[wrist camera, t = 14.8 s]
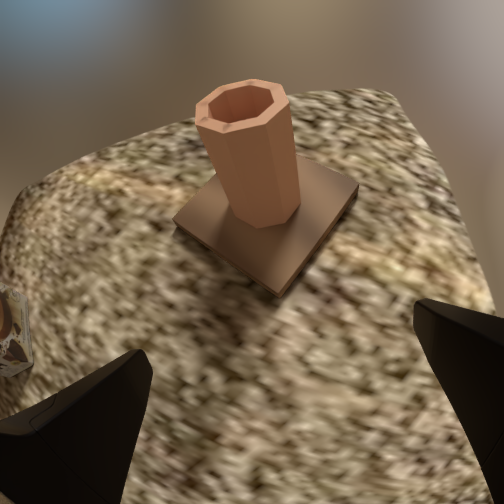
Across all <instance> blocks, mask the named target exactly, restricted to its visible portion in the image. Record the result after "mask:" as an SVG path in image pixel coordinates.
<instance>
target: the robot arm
mask: <svg viewBox="0 0 504 504" xmlns="http://www.w3.org/2000/svg"><path fill="white" fill-rule="evenodd" d="M413 327H414V331H415V333H416V335H417V337H418V339H419V342H420V344H421V346H422V348H423V351H424V353H425V355H426V358H427V360H428V362H429V364H430V366H431V368H432V370H433V372H434V374H435V375H436V377H437V379H438V381H439V383H440V384H441V386H442V388H443V390H444V392H445V394H446V396H447V397H448V399H449V401H450V403H451V405H452V407H453V409H454V411H455V413H456V415H457V417H458V419H459V421H460V423H461V425H462V427H463V429H464V431H465V433H466V435H467V438H468V440H469V442H470V444H471V446H472V448H473V451H474V453H475V455H476V458H477V460H478V462H479V465H480V467H481V470H482V472H483V475H484V477H485V480H486V482H487V485H488V488H489V490H490V493H491V496H492V499H493V501H494V504H504V318H500V317H497V316H493V315H489V314H485V313H481V312H477V311H474V310H470V309H466V308H462V307H458V306H455V305H451V304H447V303H443V302H439V301H435V300H432V299H428V298H424V299H421V300H417V301H416V302H415V303H414V315H413ZM152 376H153V370H152V367H151V365H150V363H149V360H148V358H147V356H146V354H145V352H144V351H143V350H142V349H133V350H130V351H128V352H127V353H125V354H123V355H122V356H120V357H118V358H117V359H115V360H113V361H111V362H110V363H108V364H106V365H105V366H103V367H101V368H99V369H98V370H96V371H94V372H92V373H91V374H89V375H87V376H86V377H84V378H82V379H80V380H79V381H77V382H75V383H73V384H72V385H70V386H68V387H66V388H65V389H63V390H61V391H59V392H58V393H56V394H54V395H52V396H50V397H48V398H47V399H45V400H43V401H41V402H39V403H37V404H35V405H33V406H31V407H29V408H27V409H25V410H23V411H21V412H19V413H16V414H14V415H12V416H10V417H8V418H6V419H3V420H0V504H120V502H121V498H122V494H123V490H124V486H125V482H126V478H127V474H128V471H129V467H130V463H131V460H132V456H133V452H134V449H135V445H136V442H137V438H138V435H139V432H140V428H141V425H142V421H143V418H144V415H145V411H146V407H147V402H148V397H149V392H150V386H151V381H152Z"/></svg>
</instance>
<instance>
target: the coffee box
mask: <svg viewBox="0 0 504 504" xmlns="http://www.w3.org/2000/svg"><path fill="white" fill-rule="evenodd" d="M32 365H33V356H32V349H31V341H30V331H29V319H28V300H27V297H26V296H24V295H22V294H21V293H19V292H17V291H15V290H13V289H11V288H10V287H8V286H6V285H5V284H3V283H1V282H0V375H2V376H5V377H9V378H10V377H12V376H14V375H16V374H18V373H19V372H21V371H23V370H25V369H27V368H29V367H30V366H32Z"/></svg>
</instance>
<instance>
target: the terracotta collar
mask: <svg viewBox="0 0 504 504" xmlns="http://www.w3.org/2000/svg"><path fill="white" fill-rule="evenodd" d="M195 125H196V127H197V130H198V132H199V134H200V137H201V139H202V141H203V143H204V146H205V148H206V150H207V153H208V155H209V157H210V160H211V162H212V164H213V166H214V169H215V171H216V173H217V176H218V178H219V180H220V183H221V185H222V187H223V189H224V192H225V194H226V196H227V199H228V201H229V203H230V206H231V208H232V210H233V212H234V215H235V217H237V218H239V219H241V220H242V221H244V222H246V223H248V224H249V225H251V226H253V227H255V228H256V229H258V228H263V227H268V226H273V225H278V224H283V223H286V221H287V220H288V219H289V218H290V216H291V215H292V214H293V213H294V211H295V210H296V209H297V207H298V206H299V205H300V204H301V197H300V187H299V178H298V169H297V160H296V151H295V143H294V135H293V127H292V120H291V113H290V106H289V101H288V99H287V97H286V94H285V92H284V90H283V87H282V85H280V84H276V83H271V82H266V81H262V80H257V79H250V80H245V81H240V82H236V83H232V84H228V85H224V86H220V87H218V88H217V89H216V90H214V91H213V92H212V93H210V94H209V95H208V96H207V97H205V98H204V99H203V100H202V101H200V102H199V103H198V104H196V118H195Z"/></svg>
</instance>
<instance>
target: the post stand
mask: <svg viewBox="0 0 504 504" xmlns="http://www.w3.org/2000/svg"><path fill="white" fill-rule="evenodd" d="M296 160H297V169H298V178H299V187H300V197H301V204H300V205H299V206H298V207H297V209H296V210H295V211H294V213H293V214H292V215H291V216H290V218H289V219H288V220H287V221H286V223H283V224H278V225H273V226H268V227H263V228H258V229H256V228H255V227H253V226H251V225H249V224H248V223H246V222H244V221H242V220H241V219H239V218H237V217H235V215H234V212H233V210H232V208H231V206H230V203H229V201H228V199H227V196H226V194H225V192H224V189H223V187H222V185H221V183H220V180H219V178H218V176H217V173H216V174H215V175H214V176H213V177H212V178H211V179H210V180H209V181H208V182H207V183H206V184H205V185H204V186H203V187H202V188H201V189H200V190H199V191H198V192H197V193H196V194H195V195H194V196H193V197H192V198H191V199H190V200H189V201H188V202H187V203H186V205H185V206H184V207H183V208H182V209H181V210H180V211H179V212H178V213H177V214H176V215H175V216H174V217H173V218H172V220H173V221H174V223H175V224H176V225H177V226H178V227H179V228H181V229H182V230H183V231H185V232H186V233H187V234H189V235H190V236H192V237H193V238H194V239H196V240H197V241H199V242H200V243H201V244H203V245H204V246H206V247H207V248H208V249H210V250H211V251H213V252H214V253H215V254H217V255H218V256H220V257H221V258H222V259H224V260H225V261H227V262H228V263H229V264H231V265H232V266H234V267H235V268H237V269H238V270H239V271H241V272H242V273H244V274H245V275H247V276H248V277H249V278H251V279H252V280H254V281H255V282H257V283H258V284H259V285H261V286H262V287H264V288H265V289H267V290H268V291H270V292H271V293H272V294H274V295H275V296H277V297H278V298H281V296H282V295H283V294H284V293H285V291H286V290H287V289H288V287H289V286H290V285H291V283H292V282H293V281H294V280H295V278H296V277H297V276H298V274H299V273H300V272H301V270H302V269H303V268H304V266H305V265H306V264H307V262H308V261H309V260H310V258H311V257H312V256H313V254H314V253H315V251H316V250H317V249H318V247H319V246H320V245H321V243H322V242H323V241H324V239H325V238H326V236H327V235H328V234H329V232H330V231H331V229H332V228H333V227H334V225H335V224H336V223H337V221H338V220H339V218H340V217H341V215H342V214H343V213H344V211H345V210H346V208H347V207H348V205H349V204H350V203H351V201H352V200H353V198H354V197H355V195H356V194H357V193H358V189H359V183H358V182H356V181H354V180H352V179H350V178H348V177H346V176H344V175H342V174H340V173H338V172H336V171H333V170H331V169H329V168H327V167H325V166H323V165H320V164H318V163H316V162H314V161H311V160H309V159H307V158H304V157H302V156H300V155H297V154H296Z"/></svg>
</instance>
